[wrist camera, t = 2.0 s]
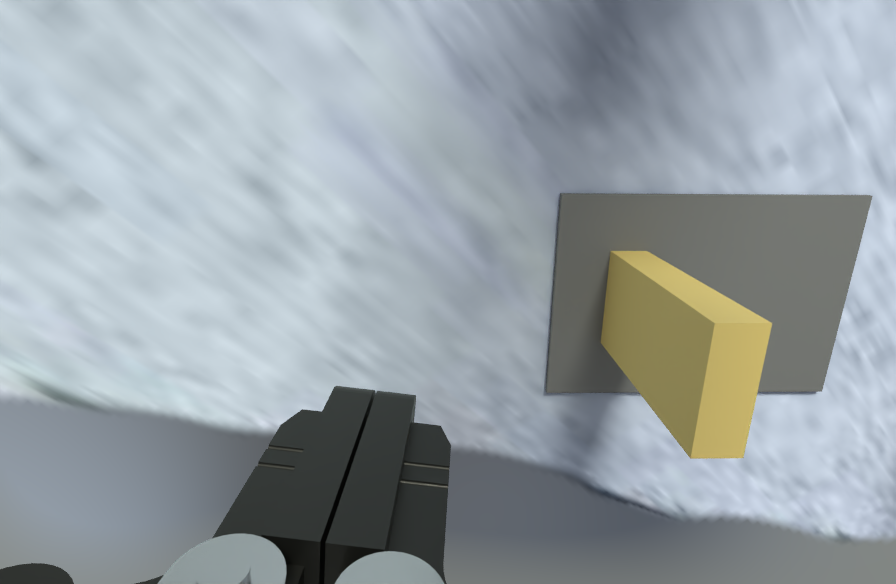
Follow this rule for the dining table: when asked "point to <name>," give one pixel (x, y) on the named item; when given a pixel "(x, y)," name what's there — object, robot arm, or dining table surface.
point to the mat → (709, 274)
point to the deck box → (685, 352)
